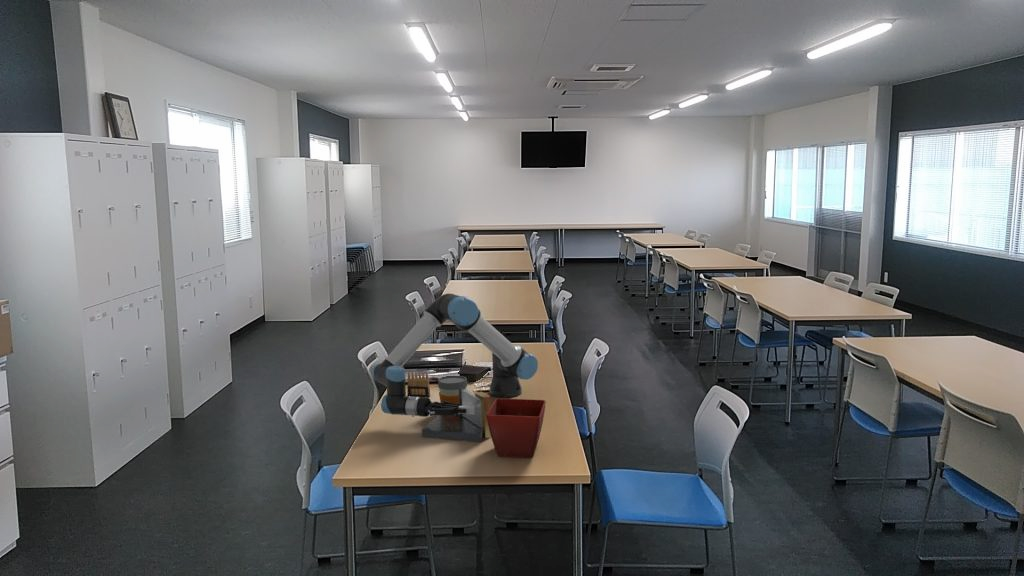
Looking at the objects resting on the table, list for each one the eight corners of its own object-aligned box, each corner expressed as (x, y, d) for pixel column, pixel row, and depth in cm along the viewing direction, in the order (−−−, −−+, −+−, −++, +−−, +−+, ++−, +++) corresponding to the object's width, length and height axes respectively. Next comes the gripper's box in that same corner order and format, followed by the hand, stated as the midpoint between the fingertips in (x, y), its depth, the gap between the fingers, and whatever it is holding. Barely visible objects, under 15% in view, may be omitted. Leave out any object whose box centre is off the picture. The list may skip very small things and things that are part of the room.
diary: (448, 371, 370) (448, 362, 369) (491, 375, 360) (491, 365, 360) (431, 380, 353) (431, 370, 352) (476, 384, 343) (475, 374, 343)
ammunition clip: (430, 396, 324) (429, 371, 322) (429, 397, 322) (427, 372, 320) (408, 395, 326) (407, 370, 324) (407, 396, 324) (406, 371, 322)
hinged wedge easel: (458, 414, 287) (457, 388, 285) (464, 413, 288) (463, 387, 286) (479, 428, 269) (479, 400, 268) (486, 426, 271) (485, 399, 269)
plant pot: (540, 462, 243) (539, 416, 241) (487, 460, 246) (485, 414, 244) (546, 442, 262) (546, 399, 260) (496, 440, 265) (495, 398, 263)
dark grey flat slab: (440, 420, 290) (440, 413, 289) (495, 424, 283) (495, 417, 283) (422, 437, 271) (421, 429, 270) (480, 441, 264) (480, 434, 264)
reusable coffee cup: (474, 412, 299) (473, 378, 297) (452, 420, 290) (451, 385, 288) (454, 406, 307) (453, 373, 305) (433, 413, 298) (431, 380, 296)
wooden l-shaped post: (482, 431, 275) (481, 391, 273) (491, 437, 269) (490, 396, 266) (476, 433, 273) (474, 392, 271) (484, 438, 267) (483, 397, 265)
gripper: (425, 410, 285) (480, 414, 279) (412, 420, 273) (469, 425, 266) (425, 392, 284) (479, 396, 277) (412, 402, 272) (469, 406, 265)
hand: (474, 410), depth 272 cm, fingers closed
